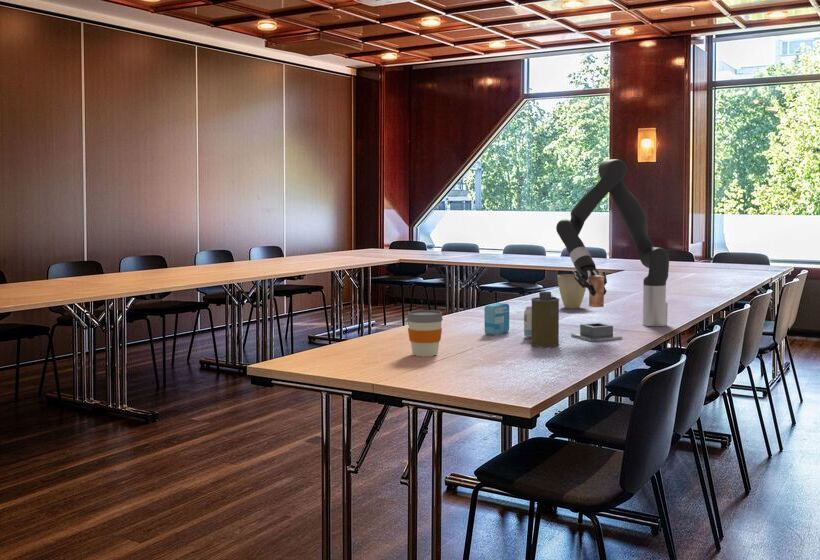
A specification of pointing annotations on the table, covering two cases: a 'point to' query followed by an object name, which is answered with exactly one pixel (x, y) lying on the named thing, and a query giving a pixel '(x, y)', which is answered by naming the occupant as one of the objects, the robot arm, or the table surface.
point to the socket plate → (596, 332)
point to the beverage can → (528, 322)
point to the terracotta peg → (597, 291)
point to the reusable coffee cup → (424, 331)
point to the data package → (496, 318)
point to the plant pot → (570, 291)
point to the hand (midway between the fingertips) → (599, 294)
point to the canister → (545, 320)
